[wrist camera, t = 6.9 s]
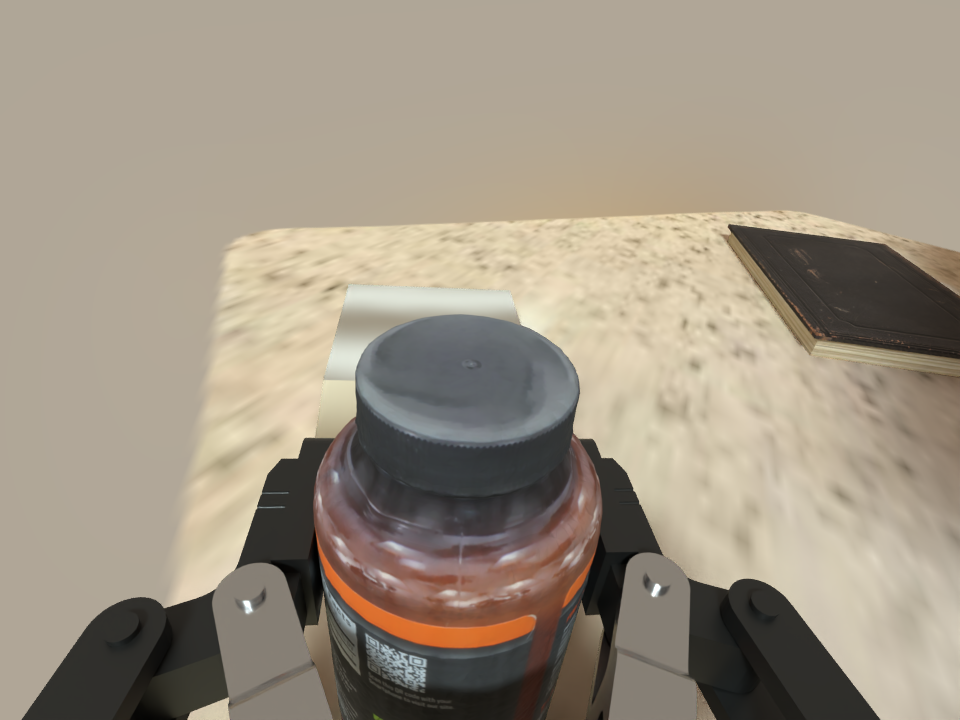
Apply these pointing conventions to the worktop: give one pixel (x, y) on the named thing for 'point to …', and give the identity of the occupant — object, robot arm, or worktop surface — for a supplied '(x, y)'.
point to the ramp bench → (378, 313)
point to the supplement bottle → (455, 524)
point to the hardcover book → (854, 299)
